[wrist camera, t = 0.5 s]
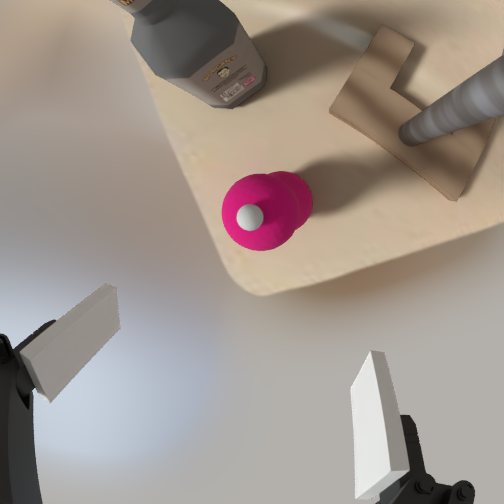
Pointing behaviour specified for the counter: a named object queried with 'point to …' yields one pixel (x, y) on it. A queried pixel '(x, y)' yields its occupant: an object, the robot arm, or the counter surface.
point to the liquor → (197, 48)
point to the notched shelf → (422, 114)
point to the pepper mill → (266, 209)
